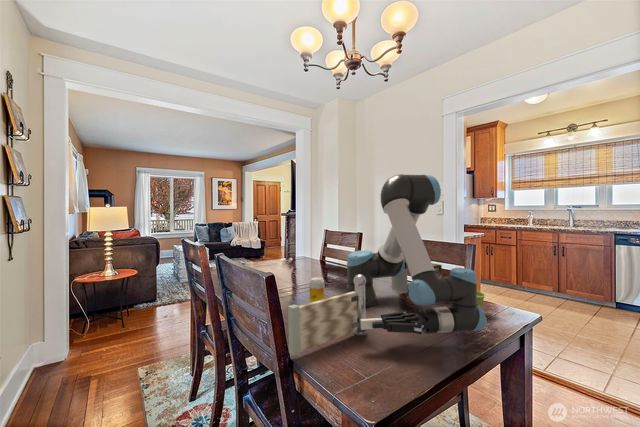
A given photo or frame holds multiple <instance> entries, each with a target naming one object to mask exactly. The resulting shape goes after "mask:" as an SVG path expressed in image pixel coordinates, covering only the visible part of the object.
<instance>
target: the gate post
mask: <svg viewBox="0 0 640 427" xmlns="http://www.w3.org/2000/svg"><path fill="white" fill-rule="evenodd" d="M354 284H355V292H357V295H358V300H357V321H358V322H359V326H358V327H357V330H356V331H353V334H354V335H356V336H358V335H359V337H360V336H361V337H363V336H366V335H368V329H366V330H361V328H360V319H367V317H366V316H367V315H366V314H367V313H366V308H367V307H366V305H365V284H366V278H365V276H363V275H361V274H358V275H356V276H355V277H354Z"/></svg>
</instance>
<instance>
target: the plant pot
mask: <svg viewBox="0 0 640 427" xmlns="http://www.w3.org/2000/svg"><path fill="white" fill-rule="evenodd" d="M485 297H486V294H485V293H484V292H482V291H478V290H477V306H480V307H481V308H482V309H483V302H484V299H485Z"/></svg>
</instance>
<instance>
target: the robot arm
mask: <svg viewBox="0 0 640 427" xmlns="http://www.w3.org/2000/svg"><path fill="white" fill-rule="evenodd" d="M441 191H442V189H441V185H440V183H439V181H438V180H437V178H436V177H435V176H432V175H428V174H427V175H426V174H403V173H402V174H395V175H393V176H391V177H389V178H387V180H386V181H385V182H384V184H383V186H382V188H381V192H380V205H381V209H382V211H383V213H384V214H386V215H387V216H388V219H389V222H390V224H391V228H390V230H389V232H388V235H387V237H386V240H385V243H384V244H382V245H381V246H379V248H378V251H377V252H373V251H371V250H368V249H366V250H355V251H352V252H351V253H348V255H347V257H346V258H347V260H346V261H347V262H346V269H347V271H346V272H347V273H346V274H347V286H346V290H345V292H344V294H345V293H349V292H353V291H354V292H355V284H354V277H355V276H356V275H358V274H361V275H363V276H365V278H366V284H365V305H366V308H370V307H374V306H375V305H377V304H378V297H377V294H376V290H375V288H374V279H382V278H390V277H394V276H398V275H400V274H401V273H402V272H403V270H404V268H405V265H404V263H405V262H406V264H407V271H408V273H409V275H410V278H411V281H410V282H409V284H408V285H407V289H408V298H409V299H410V300H411V302H412V303H413V304H414V305H416V306H433V305H437V304H443V303H444V304H445V303H450V306H435V307H423V308H422V307H421V308H420V309H419V310H418V312H417V313H415V312H409V313H407V310H401V311H397V312H396V311H395V312H389V313H383V314H380V317H375V318H374V317H372V318H366V319H360V328H361V330H366V329H367V330H380V329H383V330H386V332H387V333H403V334H405V333H406V334H407V333H409V334H416V335H422V333H424V334H426V335H427V334H428V335H429V334H437V333H441V334H446V333H454V332H455V333H456V332H474V331H475V332H476V331H481V330H484V329H485V328H486V326H487V320H488V319H487V316H486V312H485V310H484V309H483V307H482V308H481V307H480V306H477V291H478V286H477V285H478V281H477V280H478V279H477V273H476V272H475V270H473V269H470V268H467V267H466V268H465V267H464V268H463V267H454V268H451V269H450V271H449V276H442V277H440V278H438V276H437V274H436V272H435V270H434V267H433V265H432V263H433V262H432V260H431V258H430V256H429V254H428V251H427V249H426V247H425V244H424V241H423V239H422V236H421V234H420V232H419V230H418V227H417V225H416V224H417V222H418V220H419V218H420V216H421V215H424V214H425V213H426V212H427V211H428V209H429V207H430V206H433V205H435V204H437V203H438V202H439V201H440V199H441V195H442V192H441Z"/></svg>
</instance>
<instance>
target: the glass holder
mask: <svg viewBox="0 0 640 427" xmlns="http://www.w3.org/2000/svg"><path fill="white" fill-rule="evenodd" d="M404 265H405V268H404V270H403V272H402V273H401V274H400V275H398V276H394V277H389V279H390V280H391V289H390V292H391V291H392V292H391V293H393V292H394V293H393V294H401V295H402V294H403V293H404V294H407V293H408V294H409V290H408V267H407V264H406V262H405V263H404Z"/></svg>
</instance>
